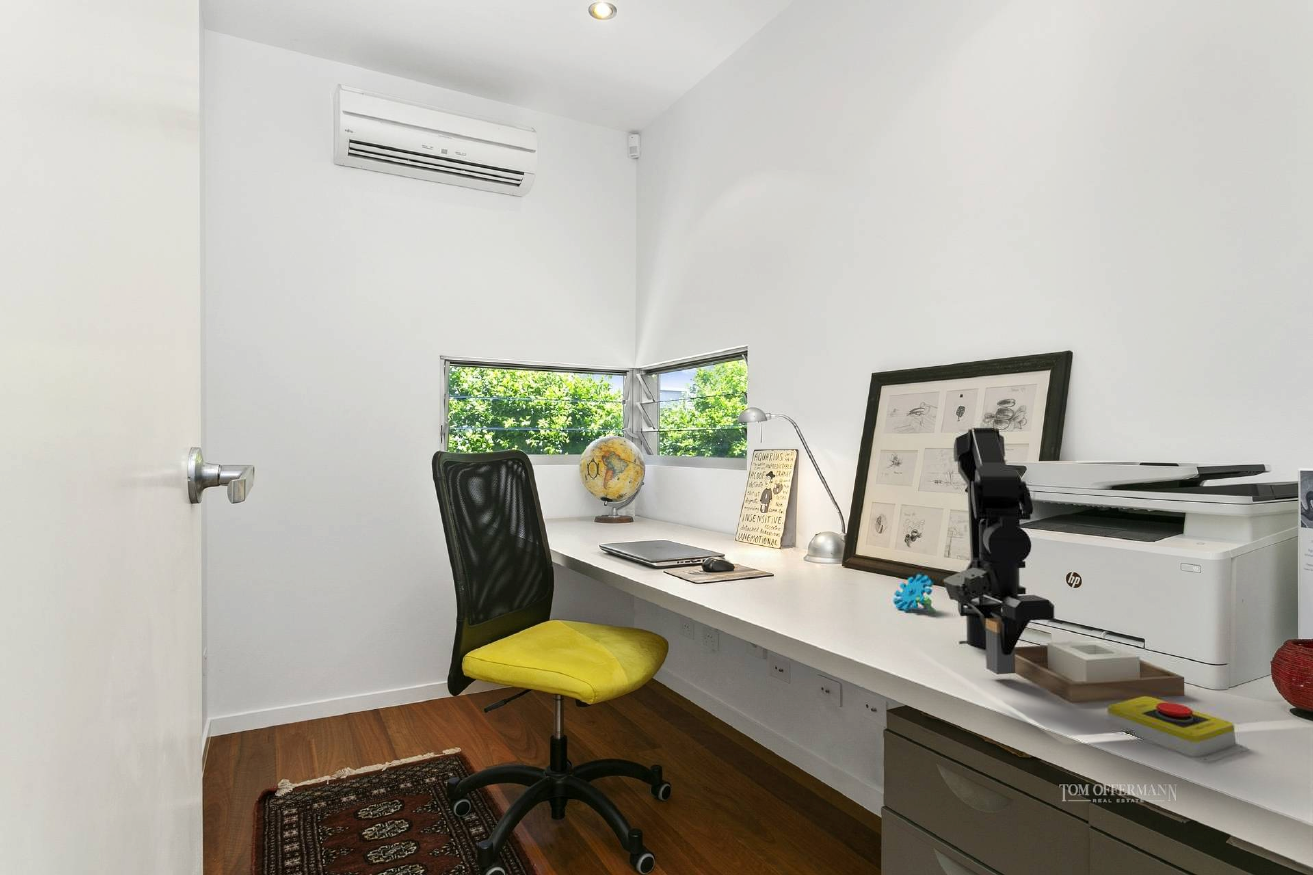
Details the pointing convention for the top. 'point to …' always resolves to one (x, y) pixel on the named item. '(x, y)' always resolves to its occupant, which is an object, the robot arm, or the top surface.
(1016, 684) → the top surface
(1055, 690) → the walled box
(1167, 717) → the emergency button
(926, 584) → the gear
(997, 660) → the plug
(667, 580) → the top surface
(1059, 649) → the block
